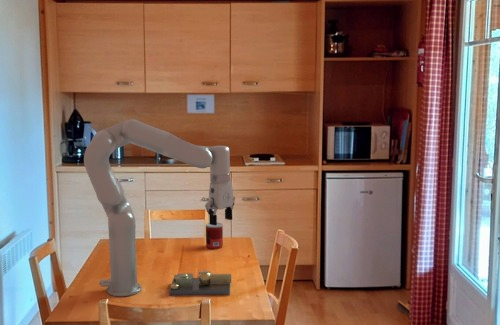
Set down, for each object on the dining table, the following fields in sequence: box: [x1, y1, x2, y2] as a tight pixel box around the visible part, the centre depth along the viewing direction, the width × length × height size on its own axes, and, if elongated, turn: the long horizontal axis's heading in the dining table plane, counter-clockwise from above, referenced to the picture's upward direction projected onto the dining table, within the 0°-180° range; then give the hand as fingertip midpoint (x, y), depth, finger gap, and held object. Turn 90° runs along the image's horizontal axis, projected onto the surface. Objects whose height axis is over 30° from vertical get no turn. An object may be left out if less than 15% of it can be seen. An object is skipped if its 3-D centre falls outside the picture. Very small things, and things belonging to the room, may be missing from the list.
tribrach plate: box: [168, 273, 231, 297], centre depth 213 cm, size 22×13×6 cm, turn 91°
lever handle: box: [197, 270, 232, 285], centre depth 213 cm, size 12×5×4 cm, turn 91°
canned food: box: [205, 222, 224, 250], centre depth 266 cm, size 8×8×11 cm
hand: (221, 222), depth 218 cm, fingers open, 9 cm apart
